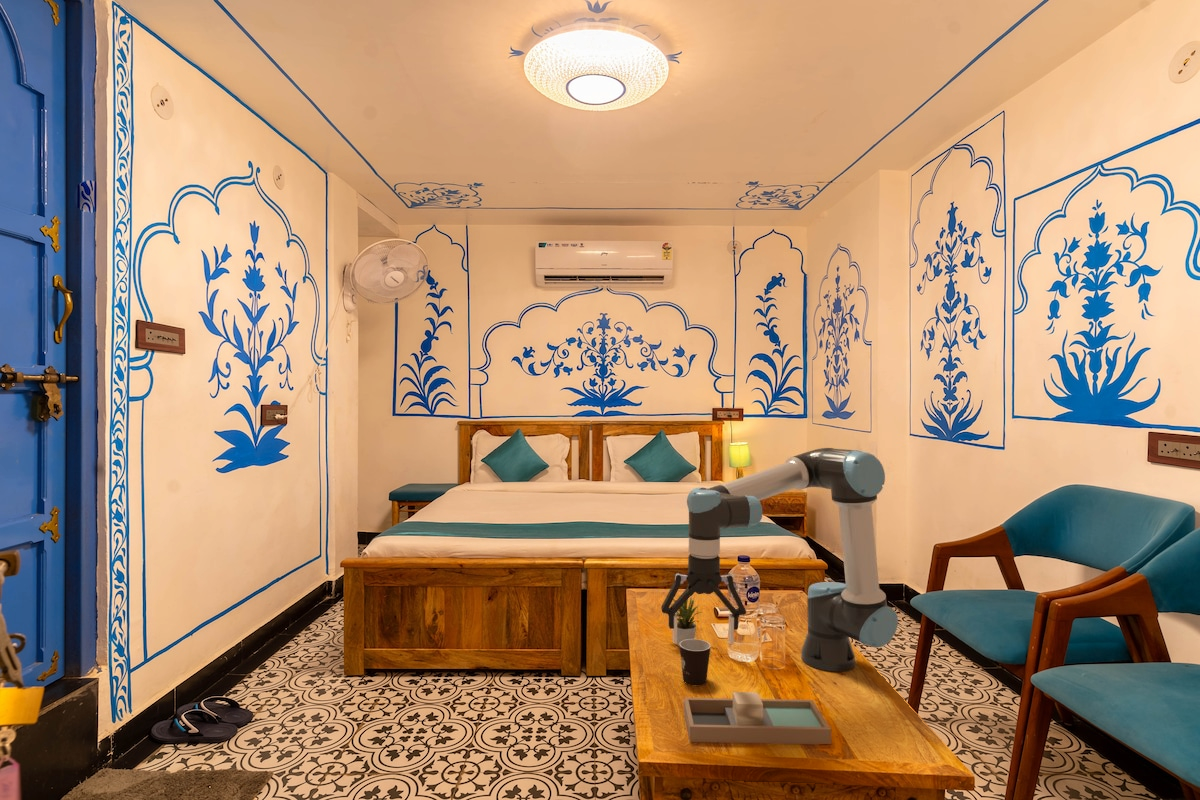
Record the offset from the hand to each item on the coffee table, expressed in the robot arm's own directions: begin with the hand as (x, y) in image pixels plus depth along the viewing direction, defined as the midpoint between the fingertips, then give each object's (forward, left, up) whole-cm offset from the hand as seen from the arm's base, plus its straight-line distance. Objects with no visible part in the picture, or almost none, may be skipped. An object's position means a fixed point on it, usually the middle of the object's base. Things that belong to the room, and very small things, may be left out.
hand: (702, 642), depth 156 cm
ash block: (-10, +2, -18) cm, 21 cm away
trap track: (-12, +2, -20) cm, 23 cm away
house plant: (0, -49, -20) cm, 53 cm away
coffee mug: (-1, -24, -20) cm, 31 cm away
